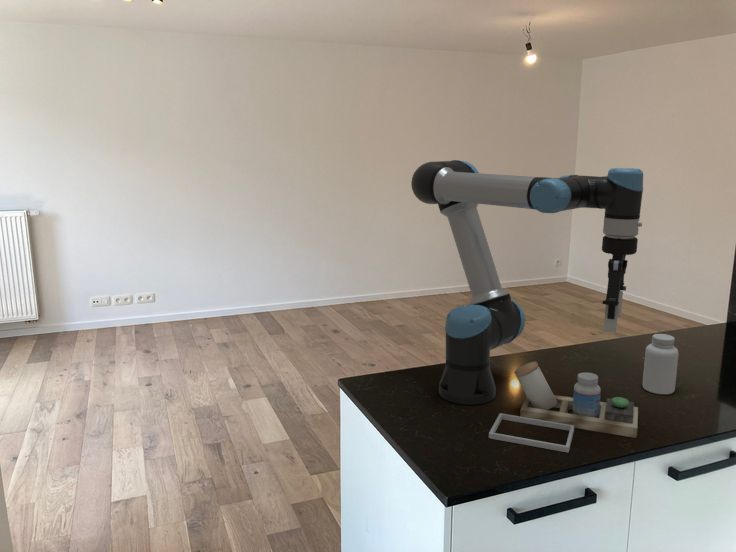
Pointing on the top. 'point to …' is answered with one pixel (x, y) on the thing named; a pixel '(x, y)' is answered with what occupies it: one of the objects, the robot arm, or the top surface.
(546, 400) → the white canister
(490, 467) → the top surface
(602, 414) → the wooden divided rack
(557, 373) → the top surface
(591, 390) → the pill bottle
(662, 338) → the pill bottle
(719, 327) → the top surface
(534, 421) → the white rectangular frame
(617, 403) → the button
